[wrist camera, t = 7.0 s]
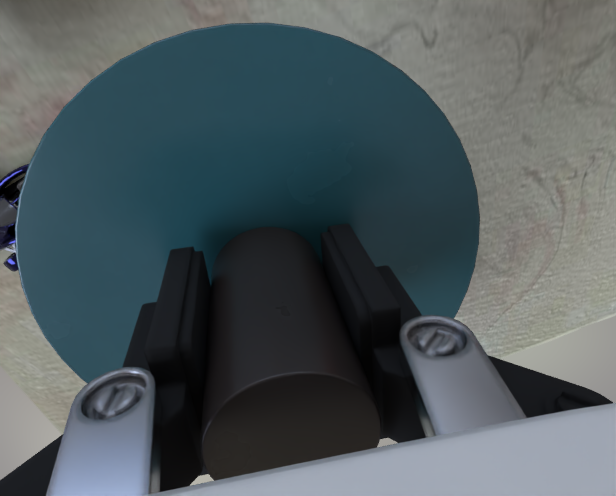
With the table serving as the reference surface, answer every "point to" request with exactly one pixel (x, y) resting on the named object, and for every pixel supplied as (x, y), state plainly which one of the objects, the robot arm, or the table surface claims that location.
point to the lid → (246, 222)
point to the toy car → (10, 213)
